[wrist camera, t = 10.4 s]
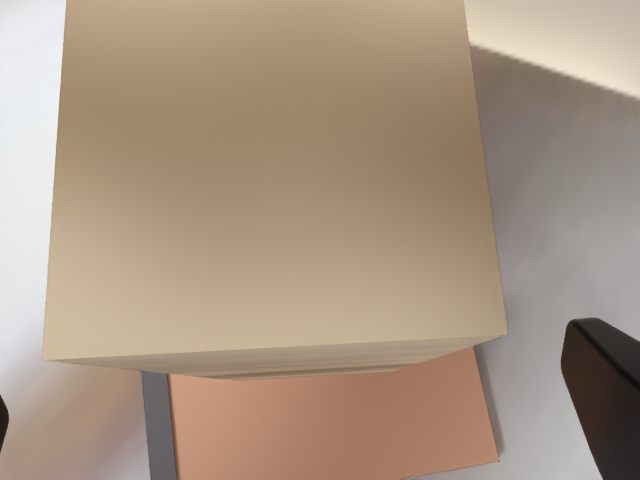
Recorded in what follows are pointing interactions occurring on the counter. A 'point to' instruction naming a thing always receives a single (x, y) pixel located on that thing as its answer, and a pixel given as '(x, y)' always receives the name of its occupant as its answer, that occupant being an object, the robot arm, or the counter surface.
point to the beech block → (269, 189)
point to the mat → (320, 424)
